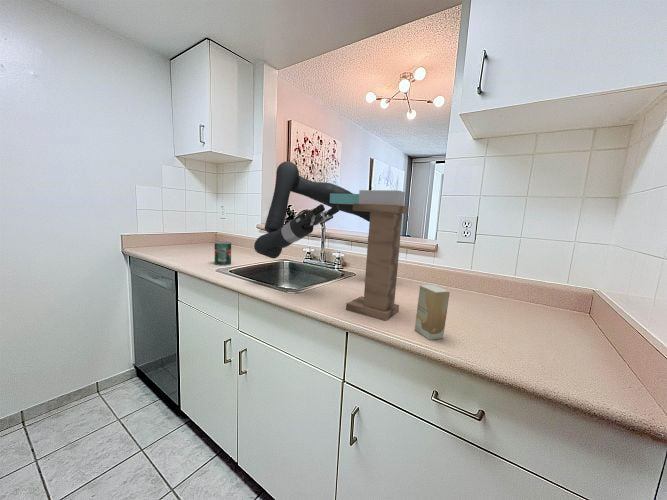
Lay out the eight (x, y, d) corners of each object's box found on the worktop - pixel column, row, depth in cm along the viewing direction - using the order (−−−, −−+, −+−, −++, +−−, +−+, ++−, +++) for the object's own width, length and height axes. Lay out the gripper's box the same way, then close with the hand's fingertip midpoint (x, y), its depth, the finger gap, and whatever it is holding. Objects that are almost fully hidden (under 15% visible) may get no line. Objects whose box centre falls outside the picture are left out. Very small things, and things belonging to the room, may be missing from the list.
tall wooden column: (361, 301, 93) (368, 205, 88) (398, 311, 86) (408, 206, 82) (345, 309, 84) (352, 203, 80) (385, 320, 78) (396, 205, 73)
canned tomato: (212, 263, 140) (212, 241, 139) (227, 262, 146) (227, 241, 144) (217, 266, 135) (217, 243, 133) (233, 264, 140) (233, 243, 138)
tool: (327, 202, 88) (328, 189, 87) (336, 203, 92) (336, 191, 91) (397, 205, 76) (398, 190, 75) (403, 206, 80) (404, 192, 79)
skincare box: (413, 329, 72) (418, 284, 71) (427, 328, 74) (432, 283, 72) (430, 341, 67) (436, 291, 65) (444, 339, 68) (450, 290, 66)
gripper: (279, 219, 93) (313, 195, 85) (306, 219, 105) (338, 198, 97) (287, 239, 92) (322, 217, 84) (313, 237, 104) (346, 217, 96)
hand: (331, 207), depth 90 cm, fingers open, 8 cm apart
